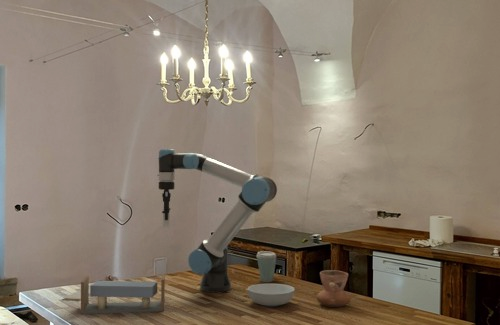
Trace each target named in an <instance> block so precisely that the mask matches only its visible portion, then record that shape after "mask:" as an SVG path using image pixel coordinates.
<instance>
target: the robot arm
mask: <svg viewBox="0 0 500 325" xmlns="http://www.w3.org/2000/svg"><path fill="white" fill-rule="evenodd" d="M177 169H178V170H197V171H200V172H203V173H206V174H207V175H210V176H212V177H215V178H217V179H220V180H223V181H225V182H227V183H230V184H232V185H235V186H237V187H240V188H241V191H240V193H239V194H238V196H237V198H238V201H237V202H236V203H235V205H234V206H233V207H232V208H231V210H229V212H228V214H227V215H226V216H225V217H224V219H223V220H222V221H221V223H220V224H219V225H218V227H217V228H216V229H215V230H214V232H213V233H212V234H211V235H210V237H209V238H208V239H207V238H206V239H203V240H202V242H201V243H200V244H199V246H198V247H197V248H195V249H194V250H192V251H191V252H190V253H189V255H188V258H187V262H188V266H189V268H190V270H191V271H192V272H193V273H195V274H197V275H202V278H201V280H200V283H199V284H200V285H199V289H200V290H201V291H202V292H207V293H222V292H228V291H231V289H232V285H231V284H232V283H231V281H230V276H229V274H228V260H229V259H228V258H229V255H228V250H229V248H228V246H229V245H230V243H231V241H232V240H233V239H234V238H235V236H237V234H238V233H239V232H240V231H241V229H242V228H243V227H244V225H245V224H246V222H247V221H248V220H249V219H250V218H251V216H252V215H253V213H258V212H259V211H260V210H261V209H262V208H263V207H264V205H265V204H266V203H269V202H271V201H273V200H274V199H275V197H276V195H277V193H278V186H277V184H276V182H275V181H274V180H273V179H272V178H270V177H266V176H262V175H259V174H256V173H255V174H251V173H248V172H246V171H243V170H240V169H239V168H235V167H233V166H231V165H227V163H226V164H225V163H223V162H220V161H219V160H218V161H217V160H216V159H212V158H210V157H208V156H206V155H205V154H203V153H195V152H194V153H193V152H187V153H185V152H184V153H183V152H182V153H179V152H178V153H177V152H175V149H173V148H171V149H170V148H163V149H159V152H158V174H157V177H158V181H159V182H158V190H162V191H163V193H162V194H161V195H162V202H163V210H162V211H161V214H163V222H162V224H163V226H162V227H163V228H170V211H171V208H170V202H171V197H172V196H171V195H172V194H171V193H170V190H175V182H174V181H175V170H177Z"/></svg>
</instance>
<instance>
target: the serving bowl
mask: <svg viewBox="0 0 500 325" xmlns="http://www.w3.org/2000/svg"><path fill="white" fill-rule="evenodd" d="M295 291H296V288H295V287H293V286H291V285H288V284H283V283H259V284H252V285H250V286H248V287H247V294H248V297H249V299H250V300H251V301H252V302H253V303H255V304H258V305H261V306H265V307H278V306H281V305H285V304H287V303H289V302H291V301H292V299H293V298H294V296H295Z"/></svg>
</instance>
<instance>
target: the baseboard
mask: <svg viewBox="0 0 500 325" xmlns="http://www.w3.org/2000/svg"><path fill="white" fill-rule="evenodd" d="M100 281H103V279H101V280H100ZM94 283H95V282H94ZM94 283H93V282H92V283H90V284H89V297H91V296H90V286H91V285H92V284H94ZM61 300H62V301H76V302H78V301H80V302H81V289H79V290H78V291H76V292H74V293H71V294H70V295H67V296H66V297H64V298H61Z"/></svg>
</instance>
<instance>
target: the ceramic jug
mask: <svg viewBox="0 0 500 325" xmlns="http://www.w3.org/2000/svg"><path fill="white" fill-rule="evenodd" d="M319 277H320V281H321V283H322V286H323V289H322V290H321V291H320V292H318V294H317V295H316V299H317V302H318V303H319V304H320V305H322V306H325V307H328V308H342V307H345V306H347V305H348V304H350V303H351V296H350V295H349V293H347V292H346V291H345V290H344V289H345V287H346V284H347V282H348V278H349V273H348V272H345V271H341V270H337V269H335V270H334V269H332V270H331V269H330V270H329V269H327V270H322V271H320V272H319Z"/></svg>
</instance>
